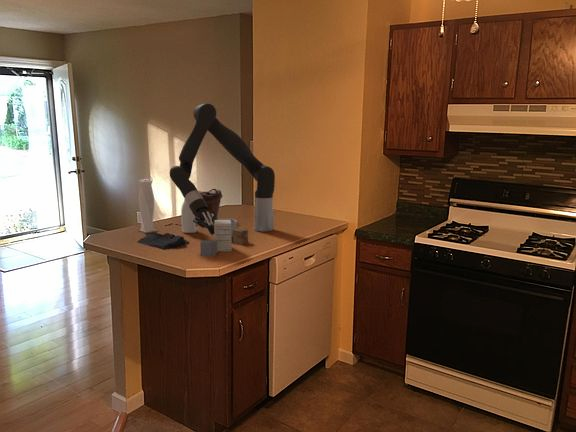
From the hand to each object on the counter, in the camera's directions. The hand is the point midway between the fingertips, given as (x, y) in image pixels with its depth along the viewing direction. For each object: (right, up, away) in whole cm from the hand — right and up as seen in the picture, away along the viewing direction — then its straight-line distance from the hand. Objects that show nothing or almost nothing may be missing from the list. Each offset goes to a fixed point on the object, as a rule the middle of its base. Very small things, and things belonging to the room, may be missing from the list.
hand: (214, 233), depth 223 cm
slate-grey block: (-1, -9, -11) cm, 14 cm away
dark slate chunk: (-24, -5, +7) cm, 26 cm away
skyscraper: (-37, 0, +27) cm, 46 cm away
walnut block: (+11, -4, +11) cm, 16 cm away
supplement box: (+4, -7, -2) cm, 9 cm away
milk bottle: (-17, 0, +29) cm, 33 cm away
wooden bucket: (-13, +5, +56) cm, 58 cm away
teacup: (+1, -2, +21) cm, 21 cm away
